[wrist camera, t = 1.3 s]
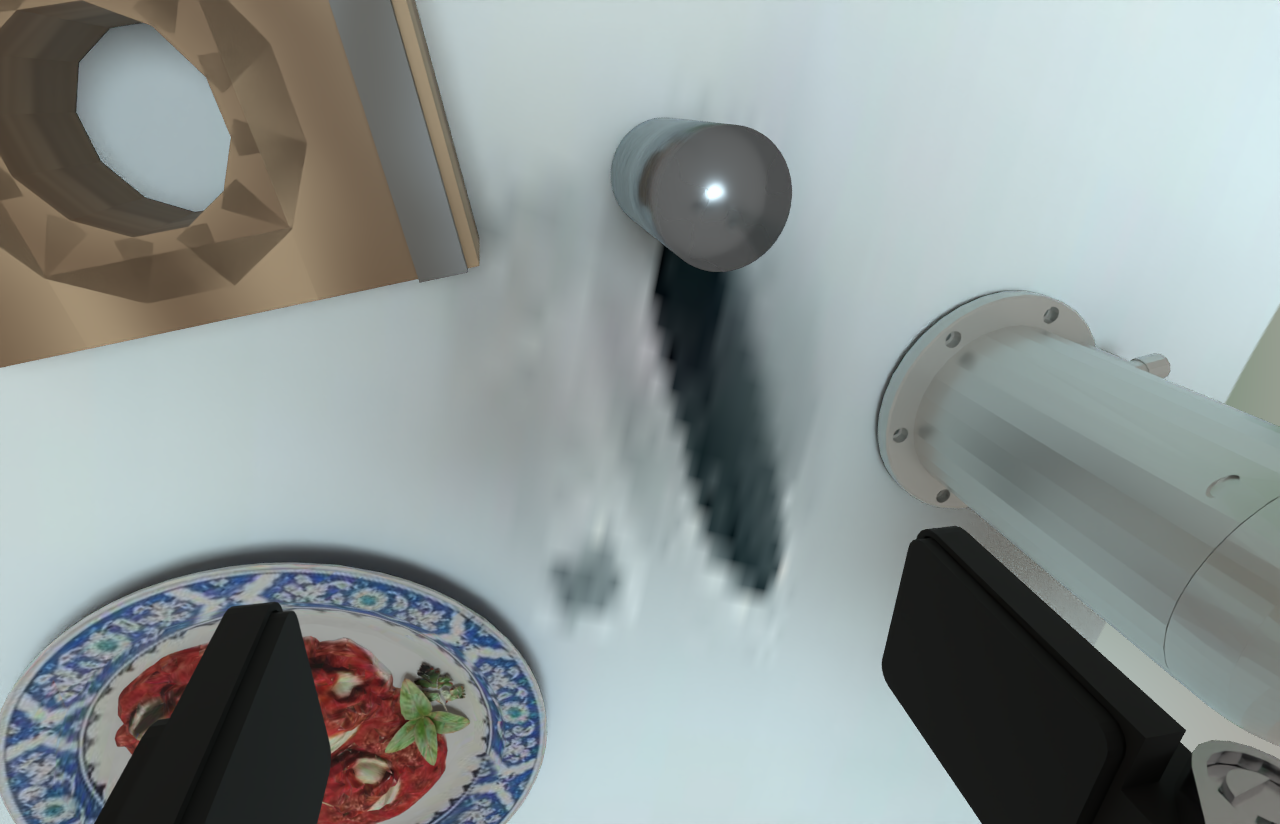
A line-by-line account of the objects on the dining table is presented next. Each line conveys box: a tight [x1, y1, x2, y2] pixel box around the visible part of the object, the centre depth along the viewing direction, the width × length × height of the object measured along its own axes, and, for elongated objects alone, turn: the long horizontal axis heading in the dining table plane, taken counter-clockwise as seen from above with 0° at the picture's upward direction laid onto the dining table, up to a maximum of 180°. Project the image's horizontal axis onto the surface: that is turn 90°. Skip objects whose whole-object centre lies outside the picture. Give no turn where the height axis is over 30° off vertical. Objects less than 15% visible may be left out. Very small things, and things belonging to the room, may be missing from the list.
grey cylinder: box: [611, 118, 792, 272], centre depth 24 cm, size 4×4×8 cm
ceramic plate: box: [0, 562, 547, 824], centre depth 35 cm, size 26×26×3 cm
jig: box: [0, 0, 479, 368], centre depth 21 cm, size 18×12×6 cm, turn 99°
